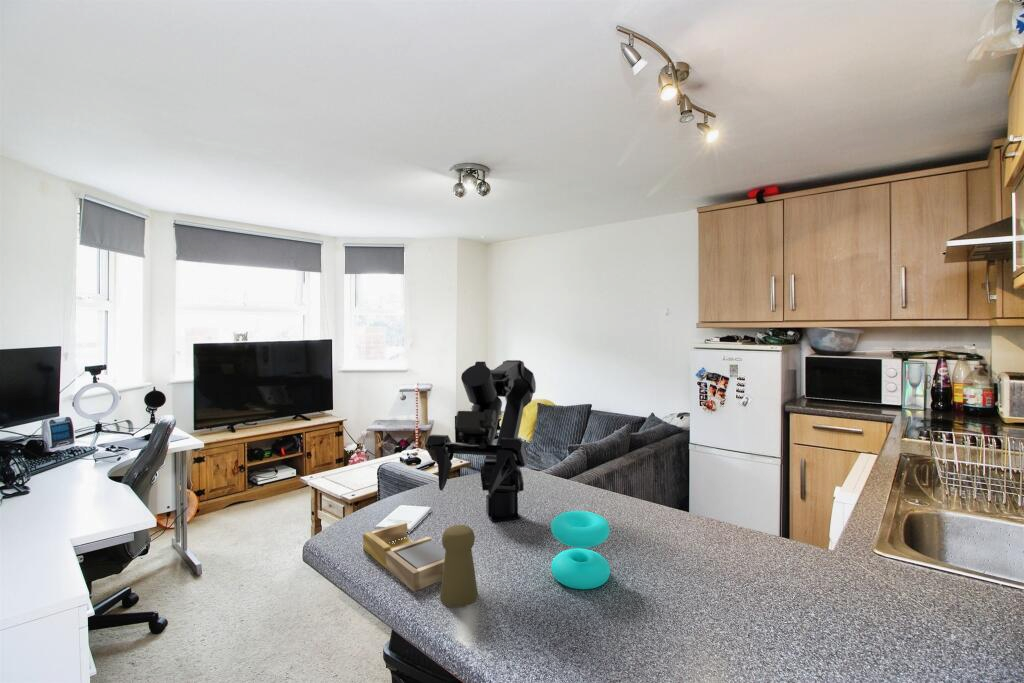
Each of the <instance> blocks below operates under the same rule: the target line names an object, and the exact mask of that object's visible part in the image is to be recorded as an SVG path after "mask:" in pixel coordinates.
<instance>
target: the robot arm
mask: <svg viewBox="0 0 1024 683" xmlns="http://www.w3.org/2000/svg"><path fill="white" fill-rule="evenodd" d="M486 363H487V362H486V361H475V363H474V364H473V365H472V366H469V367H468V368H466V369H465V370H464V371H463V372H462V373H461V382H462V385H463V387H464V390H465V392H466V397H467V399H468V401H469V402H470V403H471V404H472V408H471V410H457V413H456V419H455V426H454V429H455V430H457V431H459V433H458V437H459V439H460V440H462V442H452V440H451V439H450V436H449V434H429V435H428V436H427V437H426V440H425V443H424V447H425V449H426V451H427V453H428V455H429V457H430V459H431V461H433V462H435V463H436V465H437V472H438V473H437V474H438V476H437V477H438V489H439V491H441V492H442V491H443V490H444V489H445V488H446V487H445V486H446V485H447V481H448V477H449V476H450V472H451V470H452V466H453V463H452V460H453V458H454V456H455V454H457V455H458V454H459V455H472V456H481V457H483V456H484V457H485V458H484V460H483V463H482V464H481V467H480V480H481V482H480V483H481V486H482V487H481V489H482V491H483V492H485V491H488V492H487V494H486V495H485V509H486V510H485V511H486V515H488V517H489V519H490V520H491V522H501V521H502V522H503V521H510V520H519V519H521V515H520V514H519V505H518V504H519V500H518V499H519V498H518V494H519V493H520V492H523V491H524V490H525V489H524V487H525V486H524V485H525V484H524V476H523V472H522V470H521V468H524V467H525V466H526V462H527V451H526V448H525V444H524V441H523V440H522V439H521V438H519V433H520V429H521V428H520V427H521V424H522V417H523V415H524V414H523V413H524V409H525V407H526V406H528V404H530V403H531V402H532V400H533V396H534V394H535V393H536V390H537V384H536V383H537V382H536V379H535V375H534V373H533V371H531V370H530V369H529V368H528V367H526V366H525V363H524V361H523V360H521V359H520V360H519V359H518V360H517V359H511V360H509V359H506V360H503V362H502V364H499V365H498V366H497V367H495V368H494V369H490V368H489V367H488V366H487V364H486ZM501 397H502V398H504V399H505V402H506V403H505V407H504V411H503V416H502V420H501V425H500V427H499V432H498V431H497V428H498V423H499V419H500V416H501V415H502V406H503V401H502V399H501ZM497 435H498V436H497ZM496 437H497V441H496V444H494V440H495V438H496Z"/></svg>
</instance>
